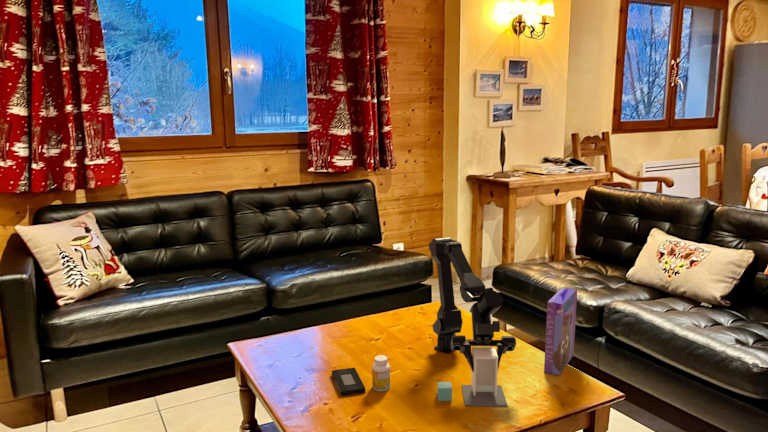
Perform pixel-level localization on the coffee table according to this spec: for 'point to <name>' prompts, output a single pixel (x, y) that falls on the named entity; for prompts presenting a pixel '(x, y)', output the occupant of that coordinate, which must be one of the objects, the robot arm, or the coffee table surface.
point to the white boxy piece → (484, 368)
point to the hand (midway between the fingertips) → (485, 371)
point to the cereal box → (560, 330)
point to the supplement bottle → (381, 373)
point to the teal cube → (444, 391)
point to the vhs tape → (348, 381)
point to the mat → (484, 396)
